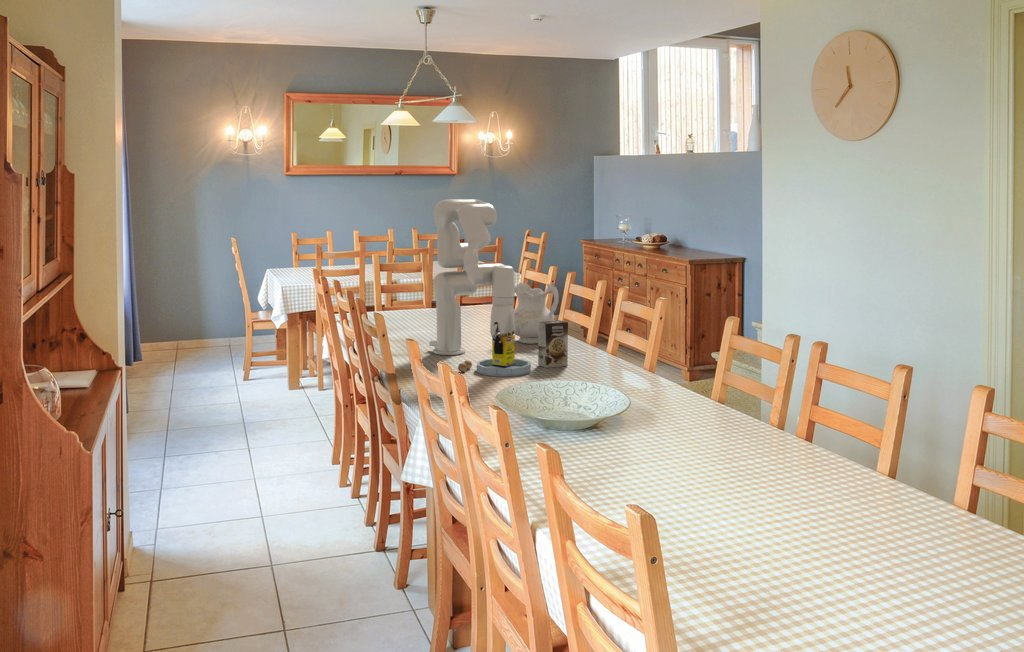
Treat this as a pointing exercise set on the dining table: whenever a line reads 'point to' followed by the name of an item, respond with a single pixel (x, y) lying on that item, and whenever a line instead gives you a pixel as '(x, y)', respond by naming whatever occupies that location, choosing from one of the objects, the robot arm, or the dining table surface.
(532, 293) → the ceramic pitcher
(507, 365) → the supplement box
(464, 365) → the bead
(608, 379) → the dining table surface
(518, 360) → the tray
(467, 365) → the bead
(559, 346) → the coffee box
